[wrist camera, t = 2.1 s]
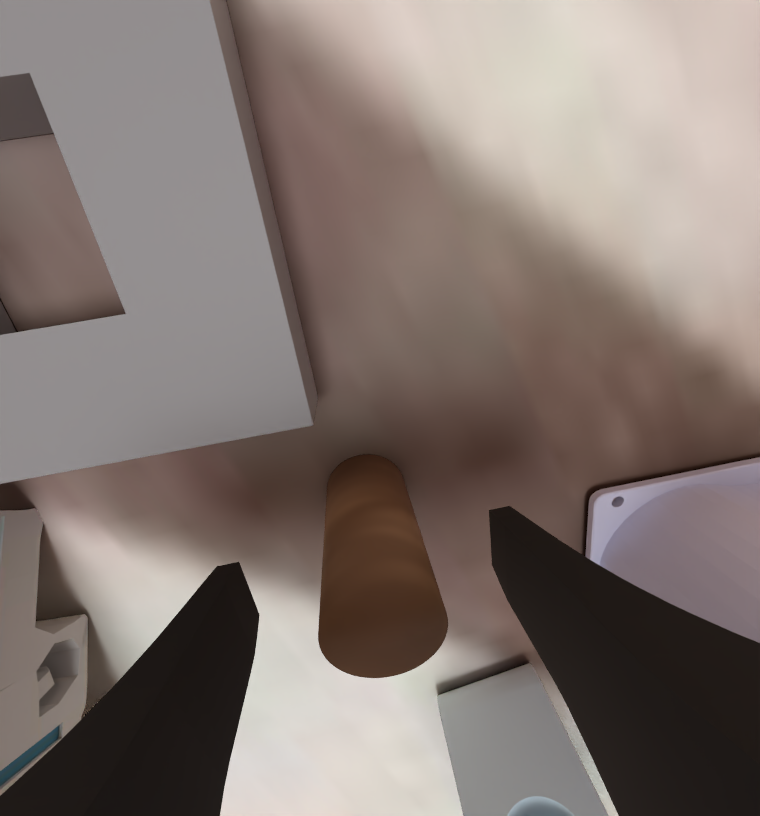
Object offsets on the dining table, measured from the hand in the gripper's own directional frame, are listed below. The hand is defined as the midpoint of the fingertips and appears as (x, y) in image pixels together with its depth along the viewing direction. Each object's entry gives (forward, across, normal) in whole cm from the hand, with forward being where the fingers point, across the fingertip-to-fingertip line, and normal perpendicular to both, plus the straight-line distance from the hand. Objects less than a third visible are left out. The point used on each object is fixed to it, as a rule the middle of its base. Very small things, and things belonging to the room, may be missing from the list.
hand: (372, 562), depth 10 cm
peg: (+4, 0, 0) cm, 4 cm away
